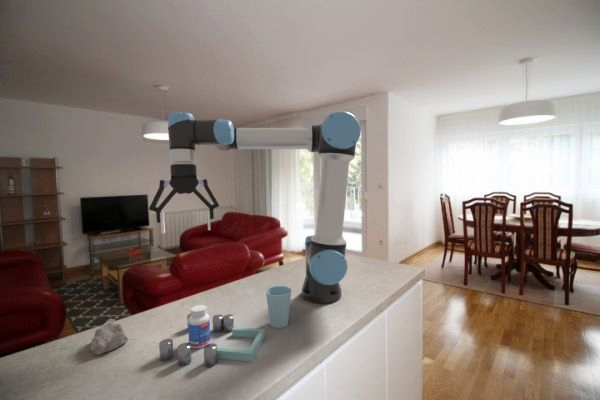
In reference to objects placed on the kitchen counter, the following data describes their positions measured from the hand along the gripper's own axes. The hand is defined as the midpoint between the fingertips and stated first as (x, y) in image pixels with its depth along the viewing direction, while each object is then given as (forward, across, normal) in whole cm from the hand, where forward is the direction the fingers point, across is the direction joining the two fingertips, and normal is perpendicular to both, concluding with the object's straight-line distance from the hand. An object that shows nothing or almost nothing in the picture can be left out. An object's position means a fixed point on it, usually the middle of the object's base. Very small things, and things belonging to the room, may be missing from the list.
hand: (186, 231), depth 89 cm
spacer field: (+28, -3, +17) cm, 33 cm away
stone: (+28, +20, +9) cm, 36 cm away
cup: (+28, -26, +14) cm, 41 cm away
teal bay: (+28, -13, +22) cm, 38 cm away
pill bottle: (+28, -3, +17) cm, 33 cm away
